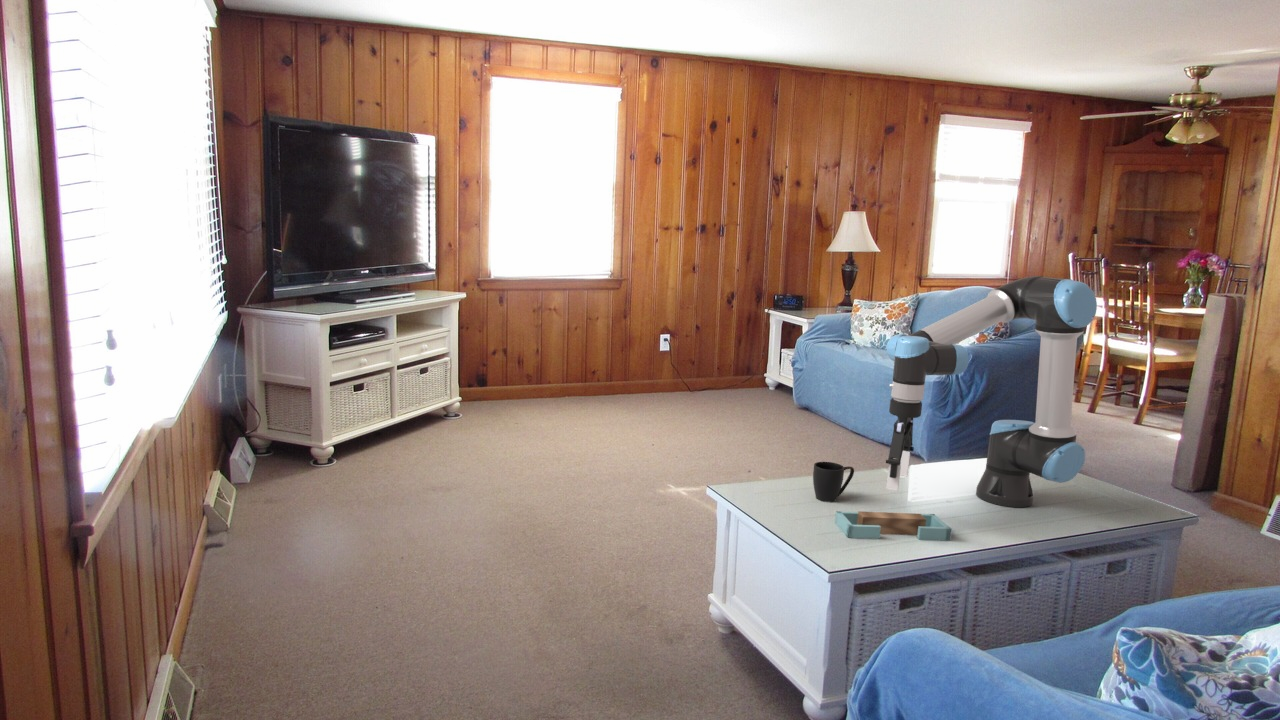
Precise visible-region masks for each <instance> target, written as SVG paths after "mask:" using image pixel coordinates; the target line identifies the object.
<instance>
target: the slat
mask: <svg viewBox="0 0 1280 720" xmlns="http://www.w3.org/2000/svg"><path fill="white" fill-rule="evenodd" d="M857 512H858V519H857V525H879V526H880V527H881V530H880V535H898V536H899V535H900V536H901V535H902V536H917V534H918V526H926V519H925V518H924V517H923V516H922V515H921V514H922V513H916V514H913V513H910V512H909V513H907V512H905V513H904V512H888V511H886V512H884V511H883V512H882V511H857Z"/></svg>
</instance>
